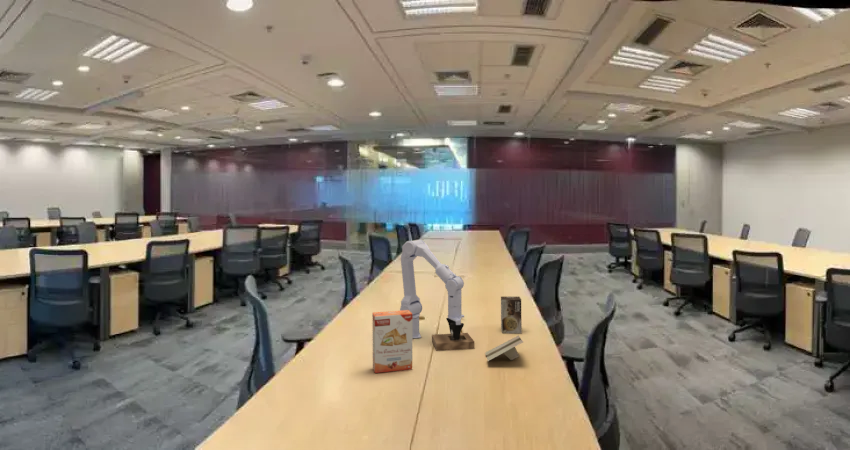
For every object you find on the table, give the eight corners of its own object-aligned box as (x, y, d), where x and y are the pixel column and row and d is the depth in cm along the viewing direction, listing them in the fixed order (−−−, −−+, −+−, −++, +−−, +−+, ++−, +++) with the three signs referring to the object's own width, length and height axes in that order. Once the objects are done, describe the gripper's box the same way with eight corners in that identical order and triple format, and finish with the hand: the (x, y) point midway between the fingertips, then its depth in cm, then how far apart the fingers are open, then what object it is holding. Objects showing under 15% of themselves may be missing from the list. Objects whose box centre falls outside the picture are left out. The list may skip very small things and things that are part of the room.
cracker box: (374, 374, 148) (374, 316, 147) (372, 368, 154) (371, 311, 153) (413, 369, 152) (412, 313, 151) (409, 363, 158) (408, 309, 157)
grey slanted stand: (503, 380, 152) (534, 352, 152) (487, 361, 153) (517, 334, 153) (499, 369, 168) (527, 344, 168) (484, 352, 170) (512, 328, 170)
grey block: (453, 346, 177) (452, 332, 176) (451, 343, 181) (451, 329, 180) (464, 345, 177) (464, 331, 177) (462, 342, 181) (462, 328, 181)
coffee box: (520, 329, 200) (520, 296, 199) (521, 333, 193) (521, 299, 192) (500, 329, 200) (500, 296, 200) (501, 333, 194) (501, 299, 193)
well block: (436, 350, 171) (436, 343, 171) (431, 341, 183) (431, 334, 183) (474, 348, 174) (474, 341, 174) (467, 339, 186) (467, 332, 185)
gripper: (468, 309, 171) (468, 341, 172) (460, 301, 186) (460, 331, 186) (451, 309, 170) (451, 342, 171) (444, 301, 185) (444, 332, 185)
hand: (454, 336), depth 179 cm, fingers open, 6 cm apart
